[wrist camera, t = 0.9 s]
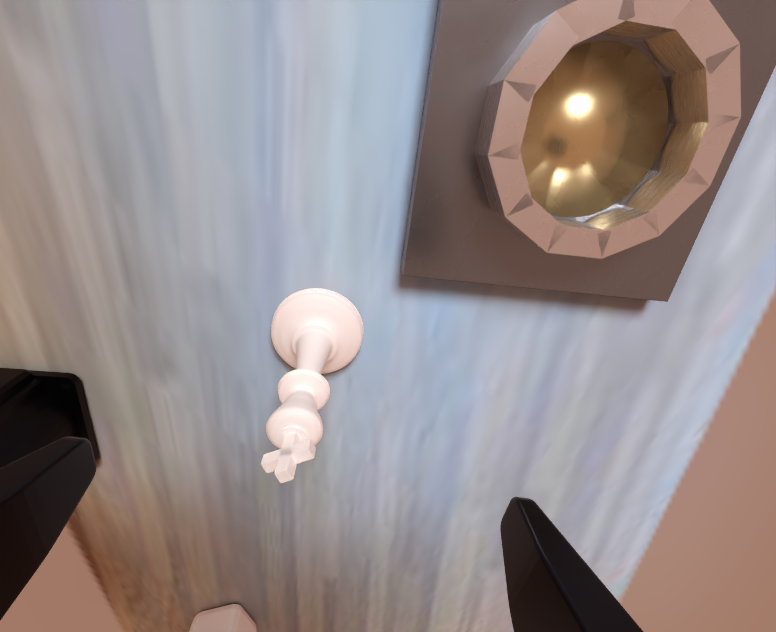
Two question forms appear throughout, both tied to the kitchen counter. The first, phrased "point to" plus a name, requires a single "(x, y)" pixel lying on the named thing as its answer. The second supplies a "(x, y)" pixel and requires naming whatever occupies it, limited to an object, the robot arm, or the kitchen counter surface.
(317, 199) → the kitchen counter surface
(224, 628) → the salt shaker
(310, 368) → the chess piece
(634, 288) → the hub plate
